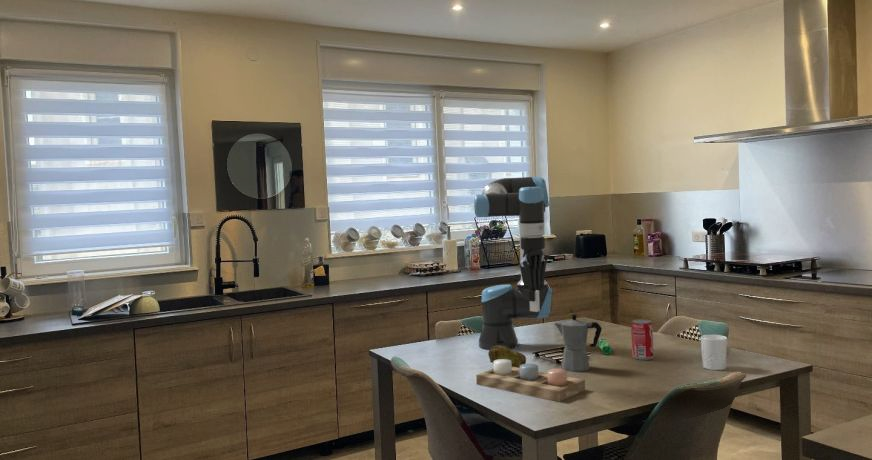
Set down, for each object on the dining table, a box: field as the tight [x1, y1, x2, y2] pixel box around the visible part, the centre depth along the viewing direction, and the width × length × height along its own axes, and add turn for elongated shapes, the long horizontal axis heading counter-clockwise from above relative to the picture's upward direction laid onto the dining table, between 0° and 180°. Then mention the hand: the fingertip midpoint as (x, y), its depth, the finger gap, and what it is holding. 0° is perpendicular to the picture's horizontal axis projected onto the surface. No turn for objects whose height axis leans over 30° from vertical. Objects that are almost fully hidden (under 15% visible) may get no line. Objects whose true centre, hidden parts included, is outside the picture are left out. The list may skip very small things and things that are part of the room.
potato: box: [487, 346, 527, 368], centre depth 223 cm, size 8×13×8 cm, turn 89°
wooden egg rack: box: [475, 367, 586, 403], centre depth 201 cm, size 30×14×3 cm, turn 47°
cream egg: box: [492, 359, 512, 376], centre depth 208 cm, size 6×6×5 cm
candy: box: [597, 338, 613, 355], centre depth 243 cm, size 12×3×4 cm
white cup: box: [700, 334, 728, 371], centre depth 215 cm, size 8×8×10 cm
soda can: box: [630, 318, 655, 361], centre depth 230 cm, size 7×7×13 cm
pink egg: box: [546, 368, 568, 387], centre depth 194 cm, size 6×6×5 cm
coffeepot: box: [554, 313, 603, 373], centre depth 220 cm, size 15×9×18 cm, turn 68°
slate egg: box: [520, 363, 539, 382], centre depth 201 cm, size 6×6×5 cm
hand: (534, 310), depth 209 cm, fingers closed
